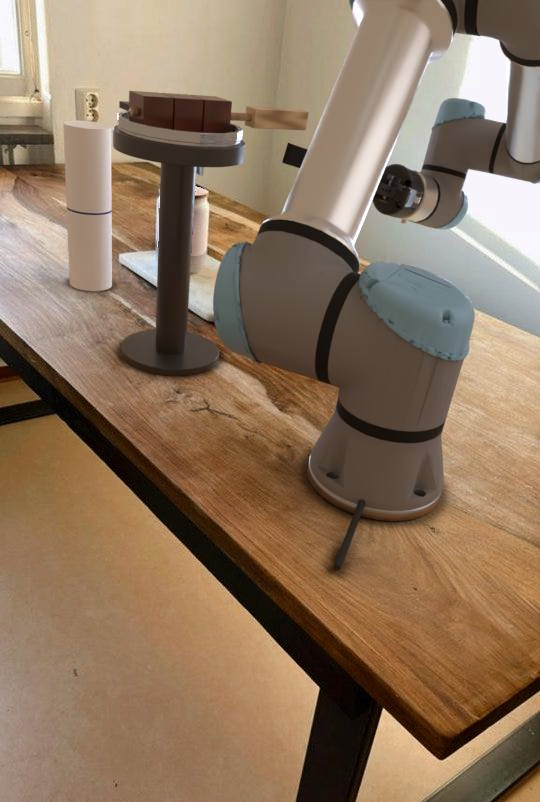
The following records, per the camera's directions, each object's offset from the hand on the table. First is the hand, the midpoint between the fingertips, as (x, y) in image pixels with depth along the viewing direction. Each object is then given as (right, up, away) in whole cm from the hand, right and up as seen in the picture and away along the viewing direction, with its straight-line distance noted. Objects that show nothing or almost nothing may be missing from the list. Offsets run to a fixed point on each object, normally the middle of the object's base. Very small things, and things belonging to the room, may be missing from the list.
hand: (319, 166), depth 95 cm
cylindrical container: (-38, -9, +25) cm, 47 cm away
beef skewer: (-13, +1, -8) cm, 15 cm away
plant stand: (-23, -23, +8) cm, 34 cm away
